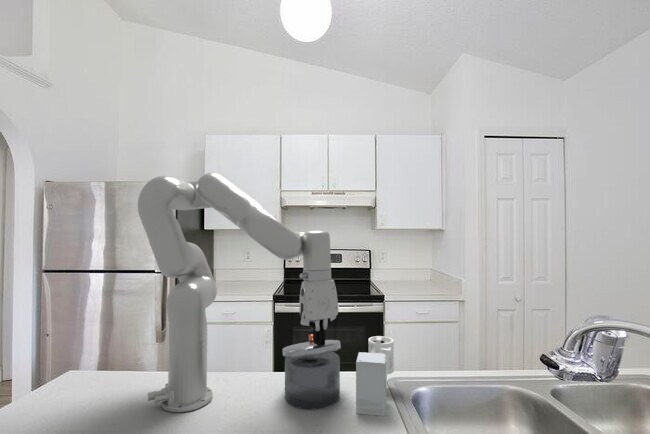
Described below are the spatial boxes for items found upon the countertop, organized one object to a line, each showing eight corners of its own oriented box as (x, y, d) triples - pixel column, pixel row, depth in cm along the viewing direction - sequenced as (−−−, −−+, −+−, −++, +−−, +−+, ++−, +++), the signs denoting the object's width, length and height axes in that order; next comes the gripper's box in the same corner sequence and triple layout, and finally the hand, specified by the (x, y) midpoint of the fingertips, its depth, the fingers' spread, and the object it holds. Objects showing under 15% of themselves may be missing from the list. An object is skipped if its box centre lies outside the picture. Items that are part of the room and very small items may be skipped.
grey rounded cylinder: (302, 415, 82) (302, 373, 83) (275, 391, 95) (275, 355, 95) (351, 398, 90) (350, 360, 91) (320, 379, 103) (320, 345, 103)
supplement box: (386, 417, 82) (385, 363, 82) (355, 413, 83) (355, 361, 84) (386, 402, 89) (386, 353, 89) (358, 399, 90) (358, 351, 91)
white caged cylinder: (365, 392, 94) (365, 337, 95) (372, 382, 100) (371, 331, 101) (391, 397, 91) (390, 340, 92) (396, 386, 98) (395, 333, 98)
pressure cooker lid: (300, 359, 82) (299, 344, 83) (273, 354, 95) (272, 341, 96) (352, 347, 91) (350, 333, 92) (320, 344, 104) (319, 332, 105)
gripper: (300, 280, 85) (302, 354, 84) (347, 274, 93) (349, 342, 92) (286, 277, 91) (288, 346, 90) (332, 272, 100) (334, 335, 99)
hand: (319, 344), depth 91 cm, fingers closed
